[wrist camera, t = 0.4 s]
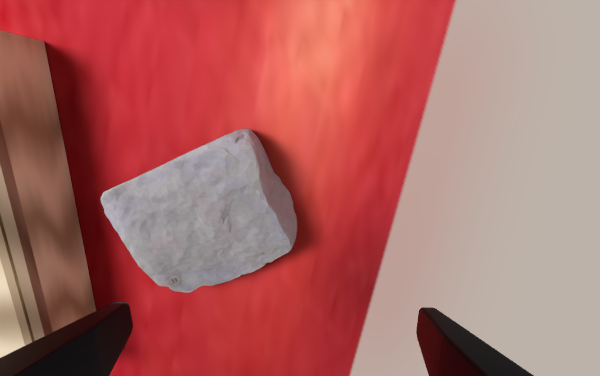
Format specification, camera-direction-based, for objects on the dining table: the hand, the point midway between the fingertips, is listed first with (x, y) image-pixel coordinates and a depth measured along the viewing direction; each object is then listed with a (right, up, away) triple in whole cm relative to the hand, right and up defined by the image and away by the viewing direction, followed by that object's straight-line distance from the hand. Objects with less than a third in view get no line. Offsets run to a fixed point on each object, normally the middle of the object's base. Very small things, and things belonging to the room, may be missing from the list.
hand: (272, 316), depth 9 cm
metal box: (-19, +2, +13) cm, 24 cm away
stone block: (-6, +2, +14) cm, 15 cm away
